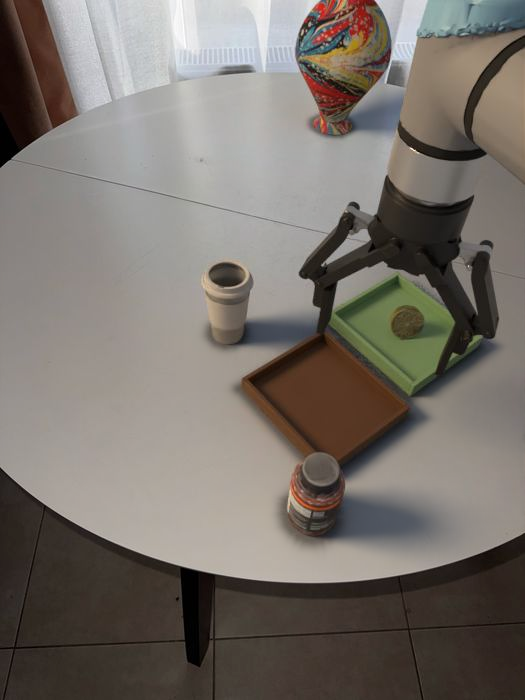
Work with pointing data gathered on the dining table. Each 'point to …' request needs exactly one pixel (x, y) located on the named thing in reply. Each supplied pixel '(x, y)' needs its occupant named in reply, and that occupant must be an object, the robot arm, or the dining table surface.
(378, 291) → the green tray
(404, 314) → the lime
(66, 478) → the dining table surface
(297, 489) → the supplement bottle
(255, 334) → the dining table surface
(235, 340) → the cup
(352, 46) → the vase
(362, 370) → the walnut tray
